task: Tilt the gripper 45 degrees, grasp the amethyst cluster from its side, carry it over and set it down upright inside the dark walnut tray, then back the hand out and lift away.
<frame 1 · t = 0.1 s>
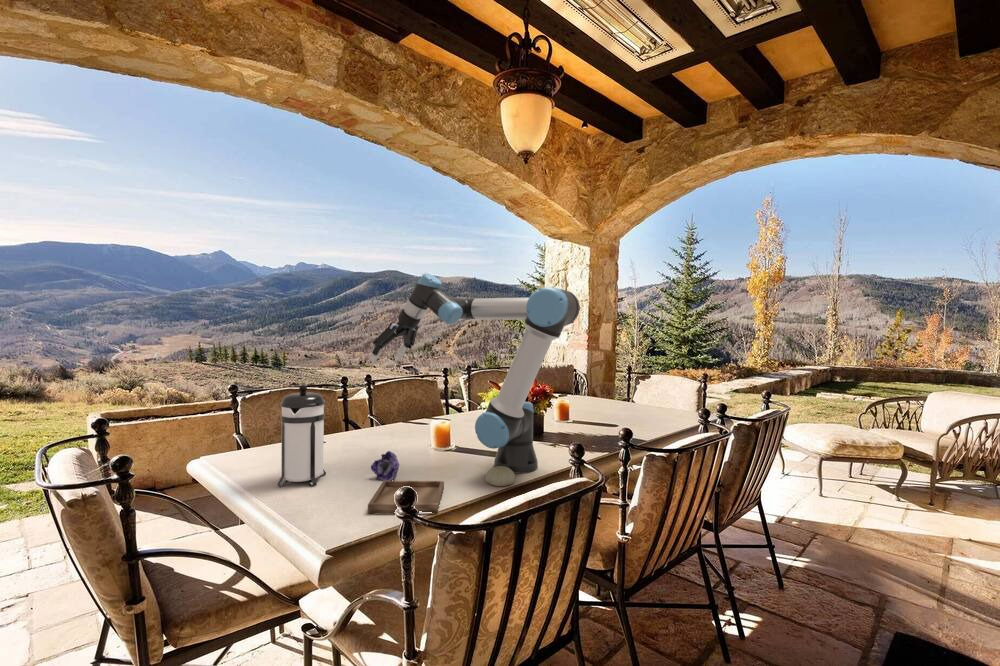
hand: (384, 360, 169), 36 cm above the table, tool tilted 35°, fingers open, 13 cm apart
coffee press: (302, 480, 144), on the table
walnut tray: (408, 500, 128), on the table
amethyst cluster: (387, 478, 147), on the table
sea urchin shell: (499, 483, 144), on the table
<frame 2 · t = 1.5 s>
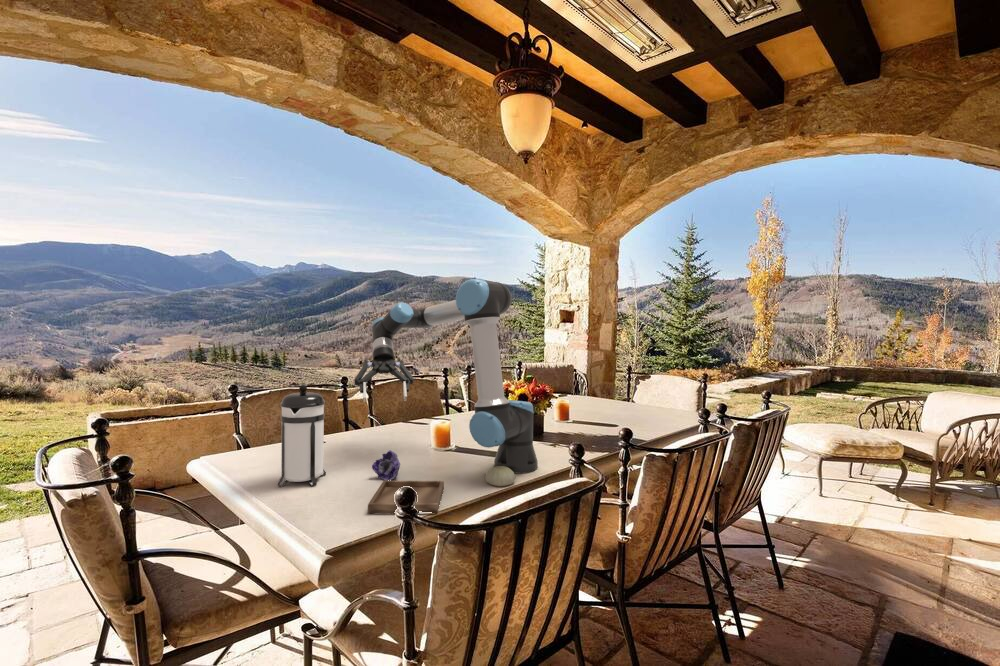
hand: (385, 399, 156), 23 cm above the table, tool tilted 45°, fingers open, 13 cm apart
nothing on the table moved.
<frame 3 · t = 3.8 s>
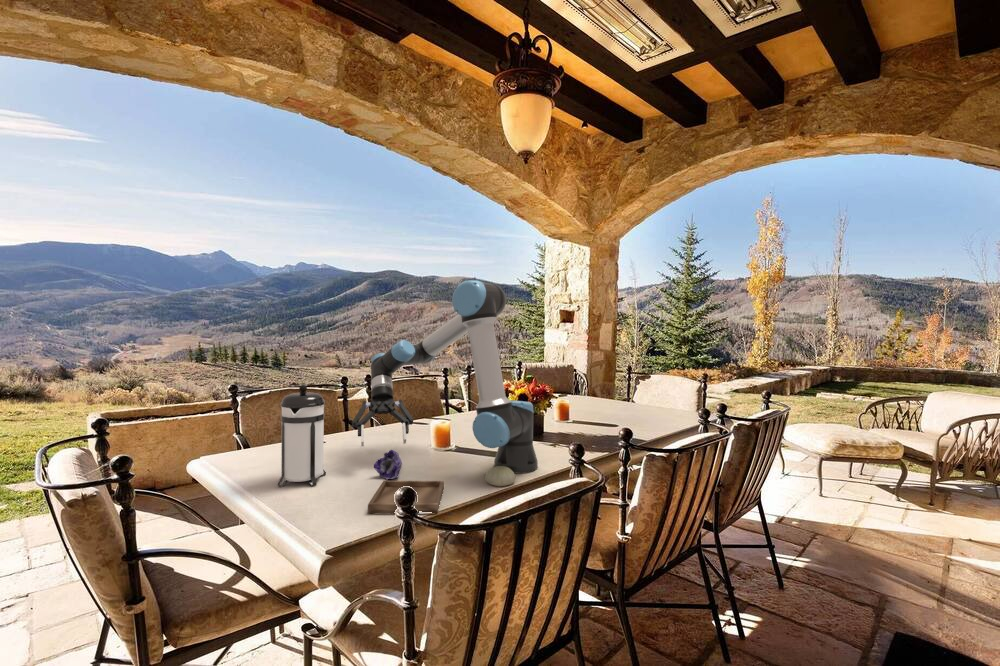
hand: (383, 443, 151), 10 cm above the table, tool tilted 45°, fingers open, 13 cm apart
amethyst cluster: (390, 476, 148), on the table
everything else where it was.
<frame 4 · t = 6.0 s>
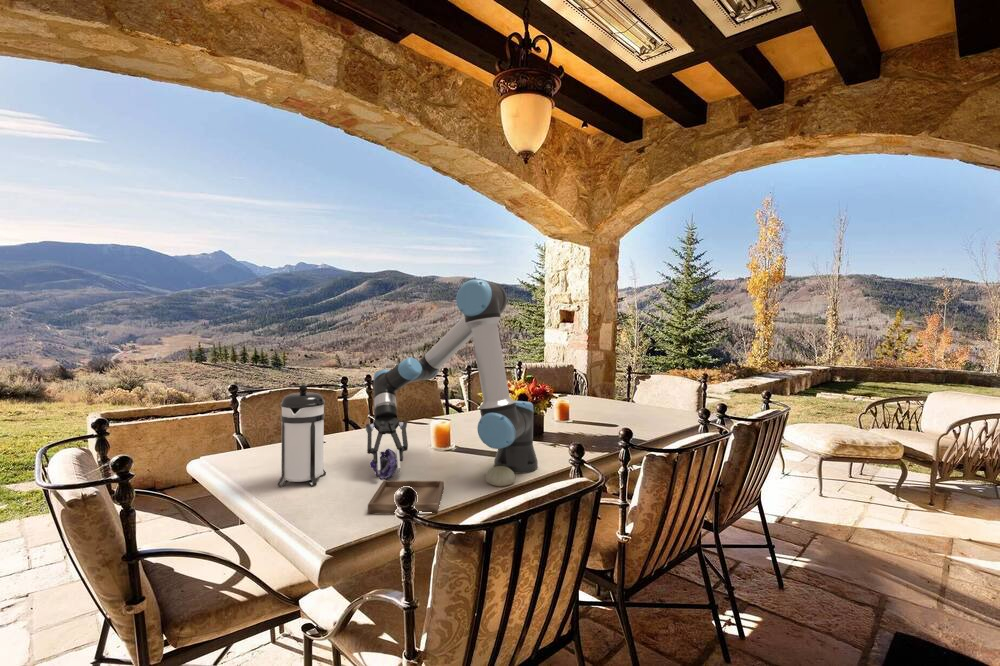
hand: (389, 471, 143), 3 cm above the table, tool tilted 45°, fingers open, 5 cm apart
amethyst cluster: (386, 475, 149), on the table, touching gripper
everything else where it was.
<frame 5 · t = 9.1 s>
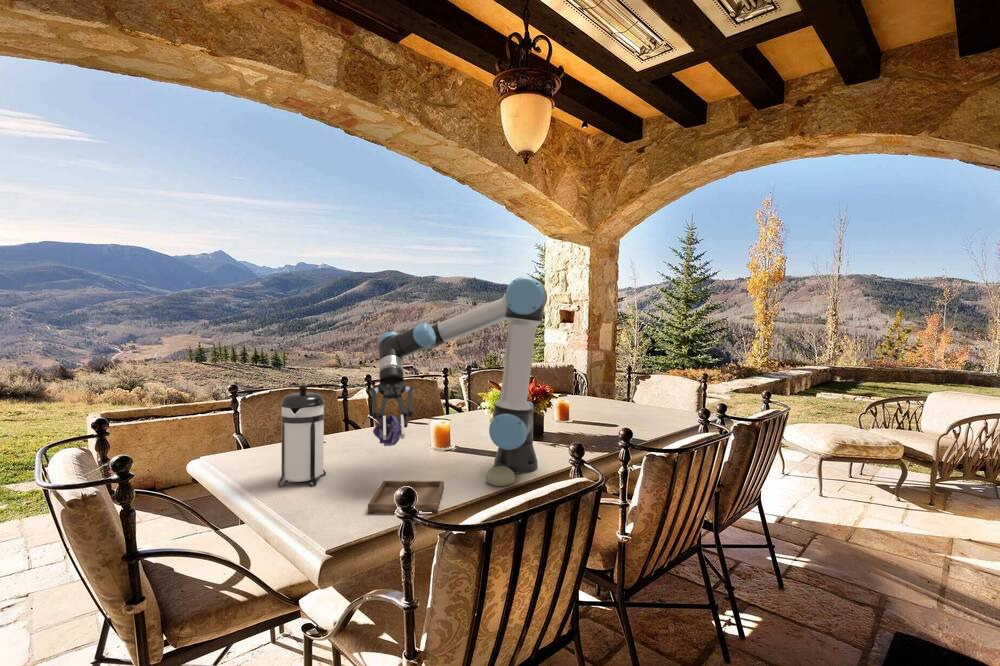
hand: (393, 436, 132), 17 cm above the table, tool tilted 45°, fingers closed on amethyst cluster, 4 cm apart
amethyst cluster: (391, 443, 138), point 13 cm above the table, touching gripper
everything else where it was.
when the fingers open (6 cm above the table, at t = 12.2 s): amethyst cluster drops 1 cm, resting on walnut tray.
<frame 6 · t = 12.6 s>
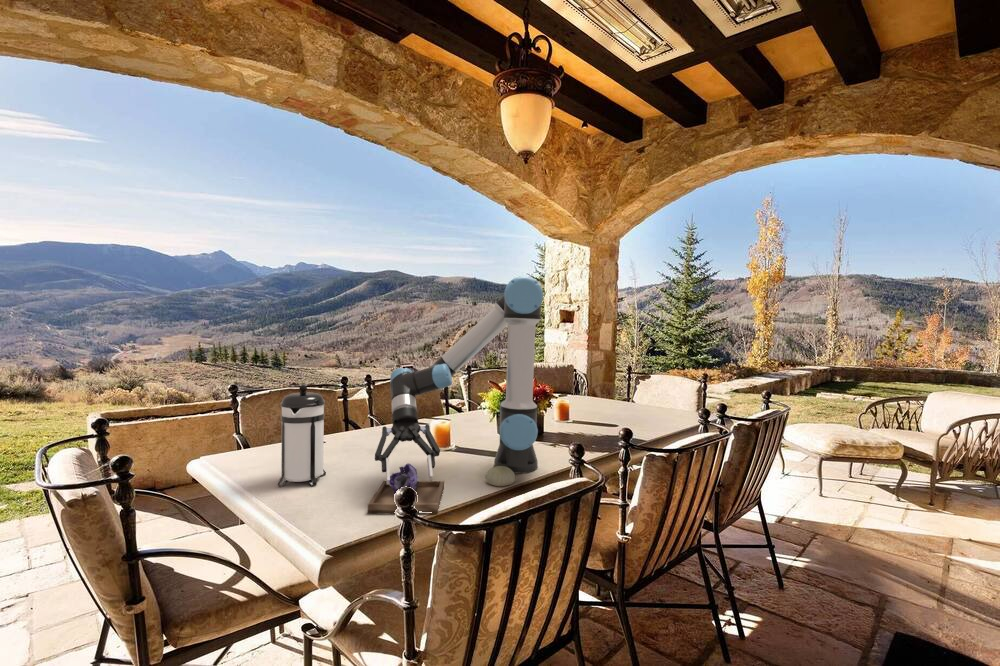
hand: (410, 480, 125), 7 cm above the table, tool tilted 45°, fingers open, 11 cm apart
amethyst cluster: (406, 494, 130), point 1 cm above the table, touching walnut tray
everything else where it was.
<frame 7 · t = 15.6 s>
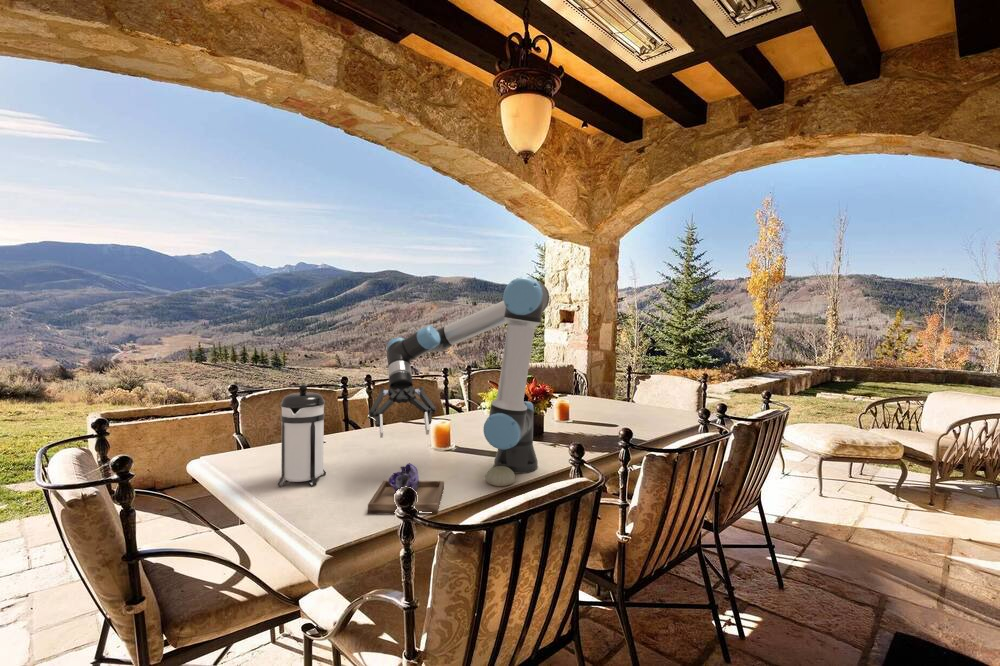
hand: (405, 433, 137), 16 cm above the table, tool tilted 45°, fingers open, 13 cm apart
nothing on the table moved.
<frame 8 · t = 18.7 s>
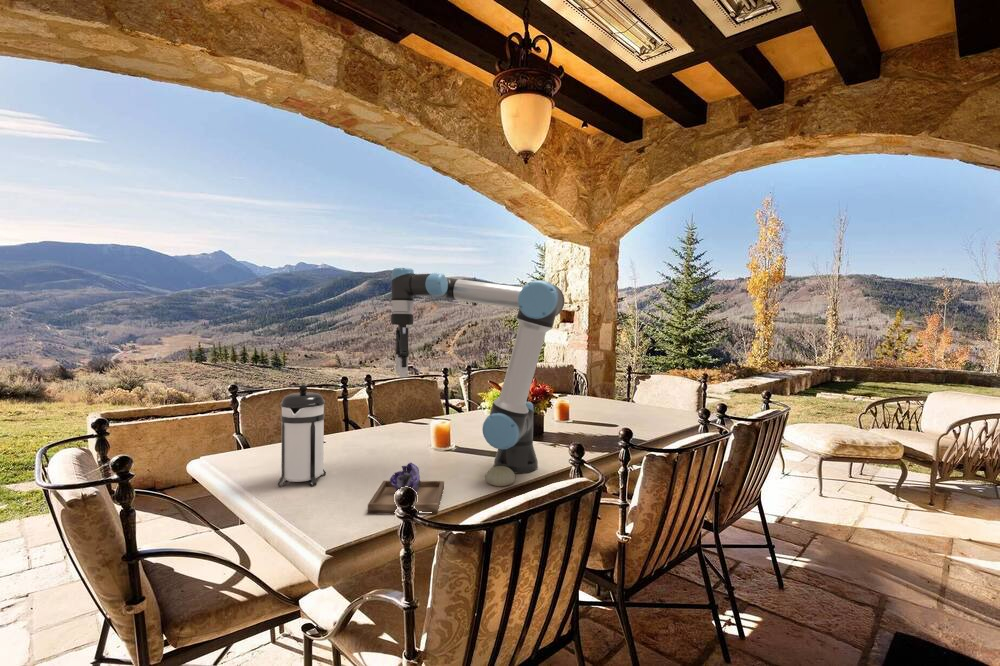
hand: (401, 374, 158), 32 cm above the table, tool pointing down, fingers open, 13 cm apart
at the end: amethyst cluster inside the target area on the walnut tray (3.5 cm from its centre), point 0.8 cm above the walnut tray's base; amethyst cluster tilted 0°; the gripper is holding nothing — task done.
